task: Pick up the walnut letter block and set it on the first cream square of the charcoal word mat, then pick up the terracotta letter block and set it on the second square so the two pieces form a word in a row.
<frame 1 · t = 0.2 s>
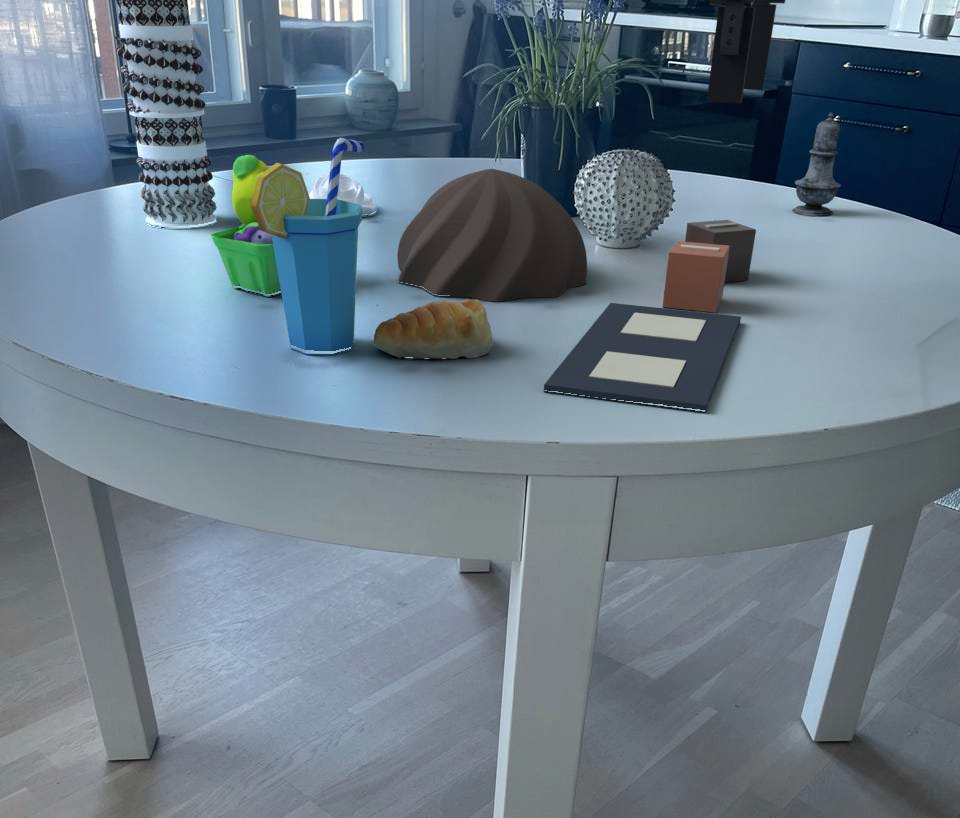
hand: (736, 95, 87), 18 cm above the table, tool pointing down, fingers open, 13 cm apart
decorative dome: (490, 277, 104), on the table
word mat: (651, 354, 84), on the table
salt shaker: (812, 213, 136), on the table
pastry: (439, 352, 83), on the table
cup: (328, 344, 84), on the table
fruit basket: (280, 285, 100), on the table
letter block 2: (692, 303, 97), on the table
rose: (340, 213, 130), on the table
bracelet display cylinder: (181, 223, 123), on the table
letter block 1: (714, 276, 106), on the table
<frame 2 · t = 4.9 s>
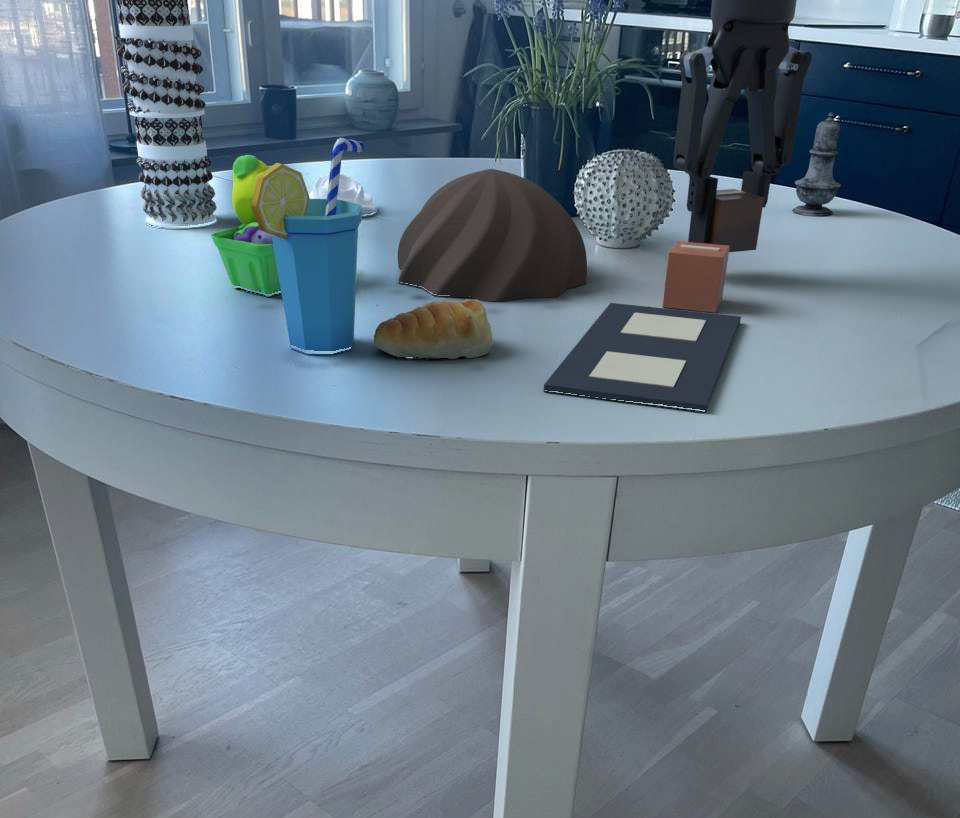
hand: (722, 243, 104), 3 cm above the table, tool pointing down, fingers closed on letter block 1, 5 cm apart
letter block 1: (721, 246, 104), point 3 cm above the table, touching gripper
everything else where it was.
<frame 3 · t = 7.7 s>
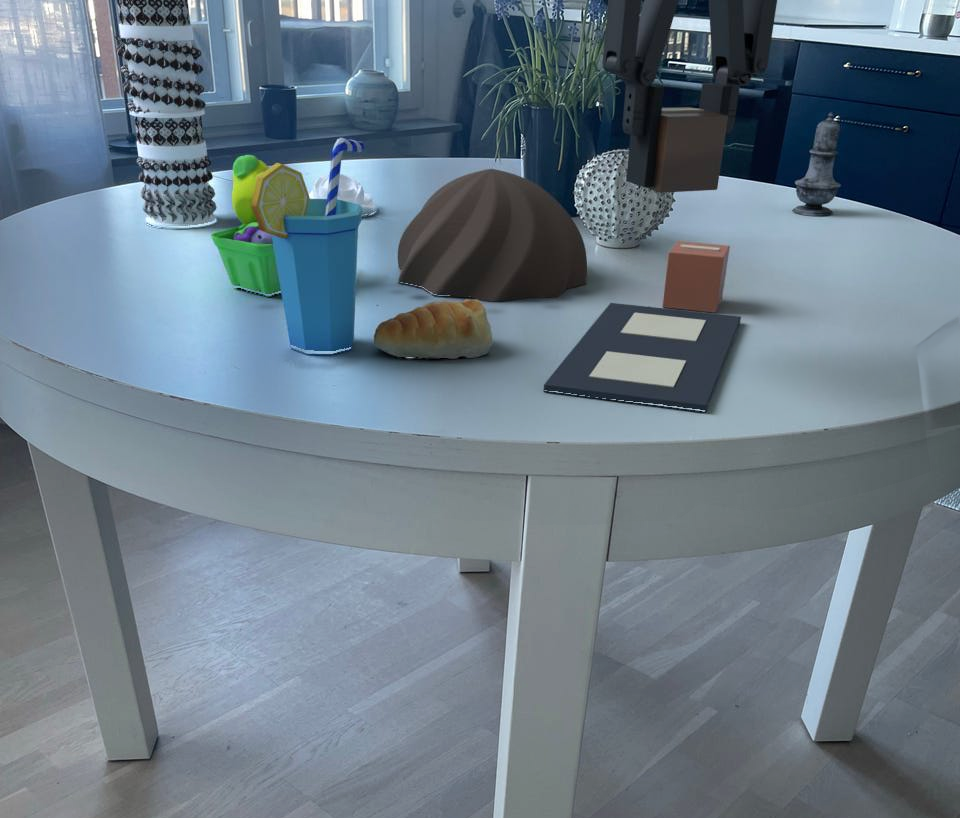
hand: (672, 181, 77), 13 cm above the table, tool pointing down, fingers closed on letter block 1, 5 cm apart
letter block 1: (671, 185, 77), point 13 cm above the table, touching gripper
everything else where it was.
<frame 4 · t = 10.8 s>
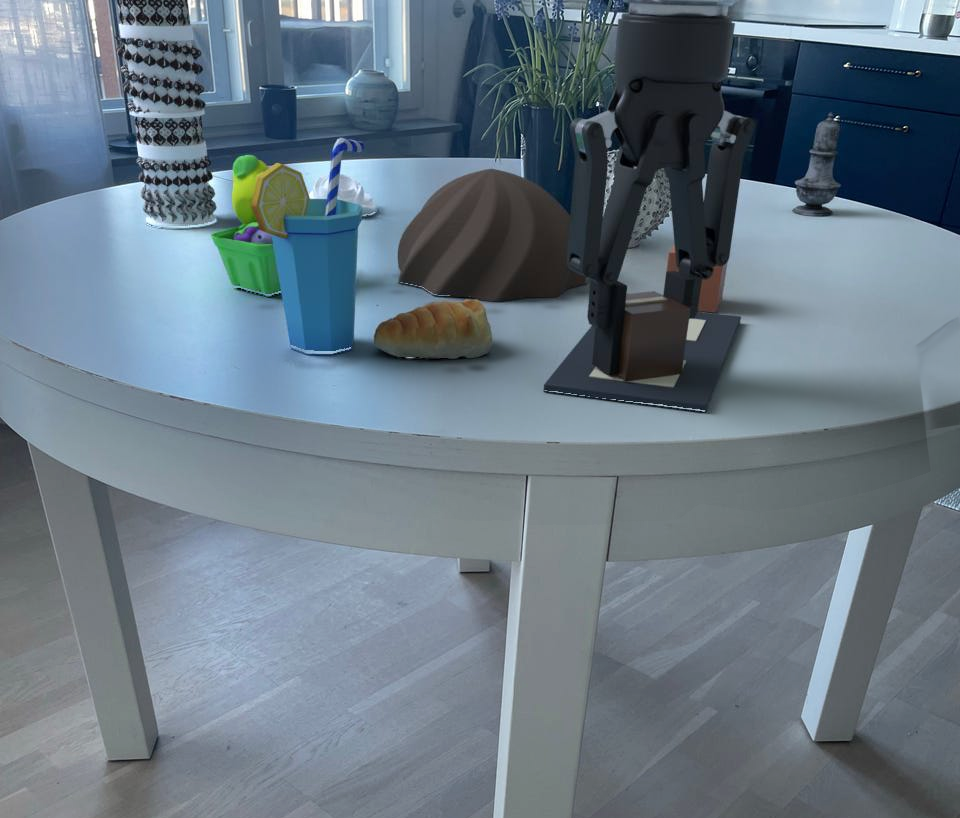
hand: (637, 364, 78), 1 cm above the table, tool pointing down, fingers closed on letter block 1, 5 cm apart
letter block 1: (636, 367, 78), point 1 cm above the table, touching gripper
everything else where it was.
when the fingers open (1 cm above the table, at t = 10.8 s): letter block 1 stays where it is, resting on word mat.
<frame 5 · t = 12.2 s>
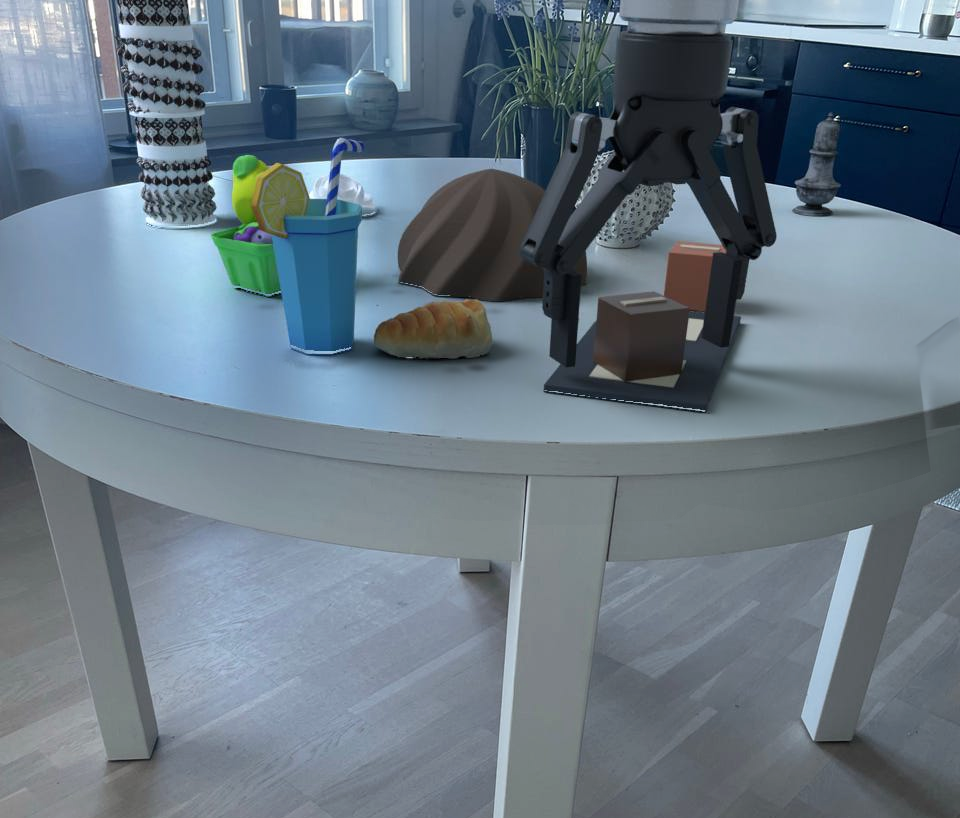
hand: (640, 352, 78), 2 cm above the table, tool pointing down, fingers open, 13 cm apart
letter block 1: (636, 367, 78), point 1 cm above the table, touching word mat
everything else where it was.
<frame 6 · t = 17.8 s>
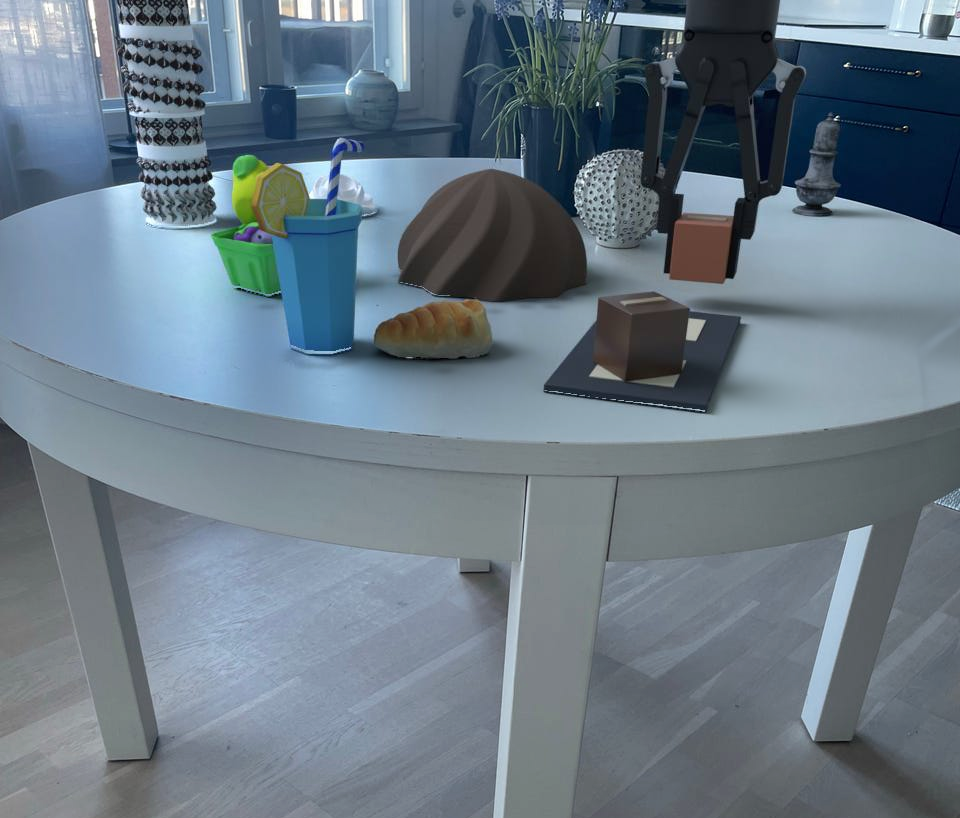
hand: (700, 272, 95), 3 cm above the table, tool pointing down, fingers closed on letter block 2, 5 cm apart
letter block 2: (699, 275, 95), point 3 cm above the table, touching gripper
everything else where it was.
when the fingers open (1 cm above the table, at t = 22.1 s): letter block 2 stays where it is, resting on word mat.
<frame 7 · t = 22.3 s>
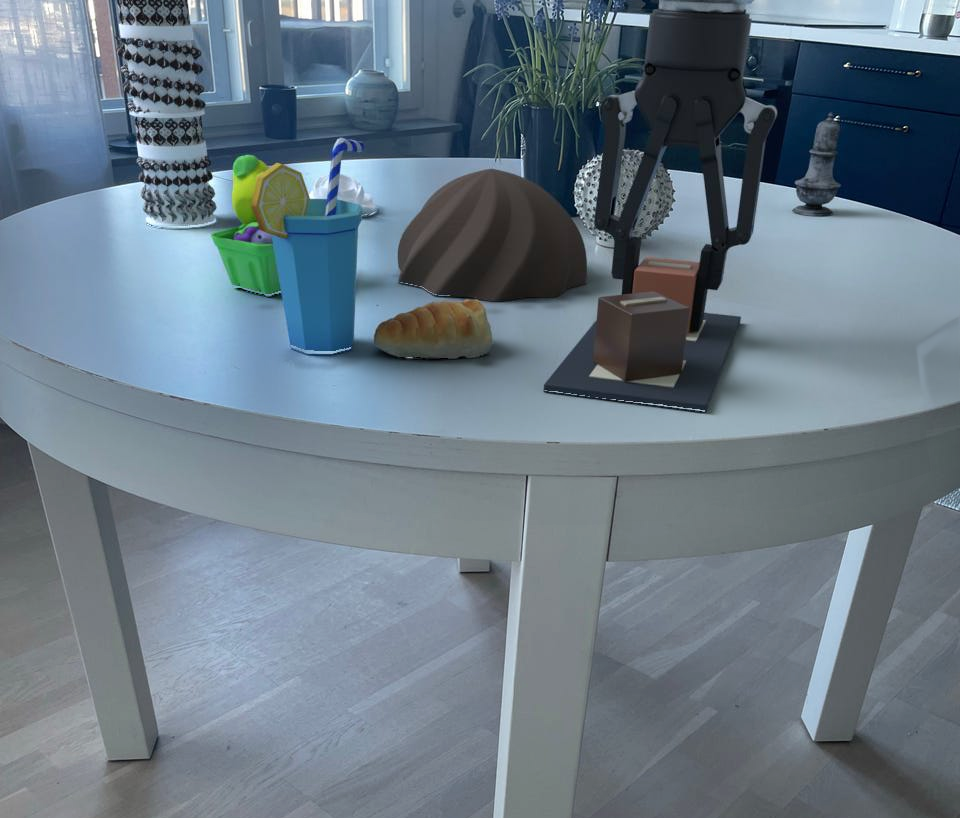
hand: (660, 321, 88), 1 cm above the table, tool pointing down, fingers open, 5 cm apart
letter block 2: (662, 325, 88), point 1 cm above the table, touching word mat
everything else where it was.
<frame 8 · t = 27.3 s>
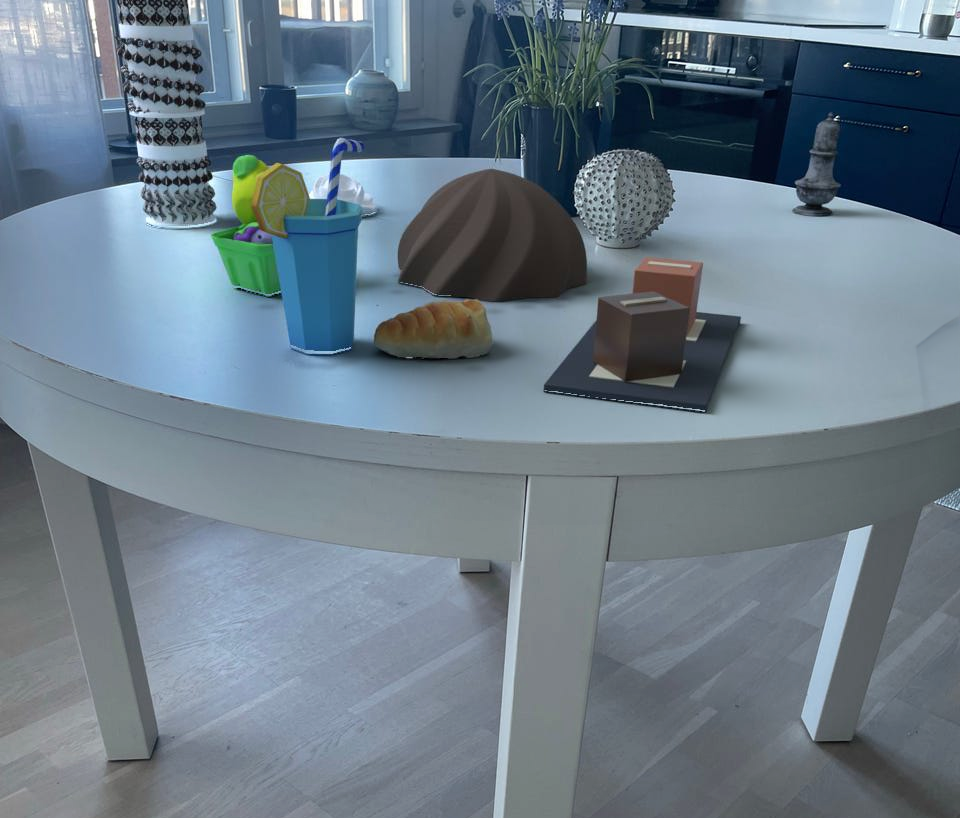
nothing on the table moved.
at the end: letter block 1 0.1 cm from the target spot on the word mat, point 0.7 cm above the word mat's base; letter block 2 0.1 cm from the target spot on the word mat, point 0.7 cm above the word mat's base; letter block 2 tilted 0° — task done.
